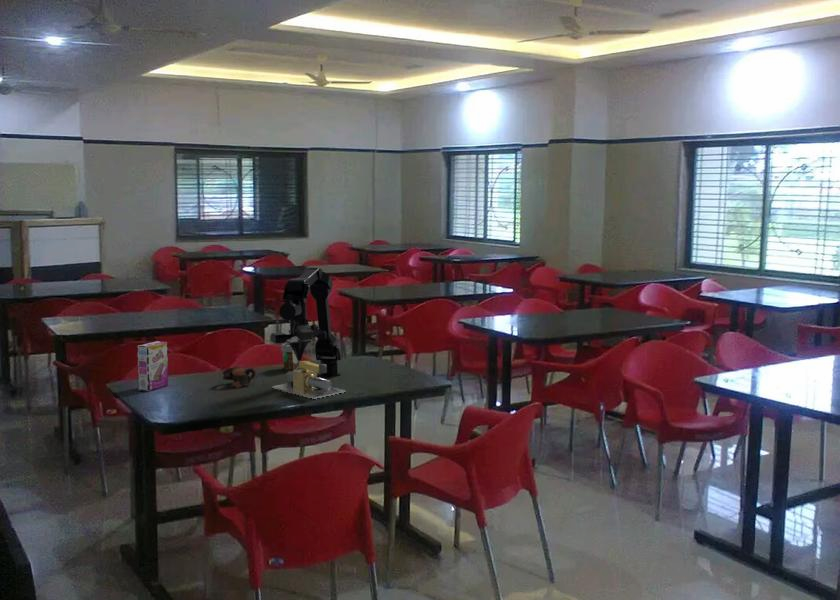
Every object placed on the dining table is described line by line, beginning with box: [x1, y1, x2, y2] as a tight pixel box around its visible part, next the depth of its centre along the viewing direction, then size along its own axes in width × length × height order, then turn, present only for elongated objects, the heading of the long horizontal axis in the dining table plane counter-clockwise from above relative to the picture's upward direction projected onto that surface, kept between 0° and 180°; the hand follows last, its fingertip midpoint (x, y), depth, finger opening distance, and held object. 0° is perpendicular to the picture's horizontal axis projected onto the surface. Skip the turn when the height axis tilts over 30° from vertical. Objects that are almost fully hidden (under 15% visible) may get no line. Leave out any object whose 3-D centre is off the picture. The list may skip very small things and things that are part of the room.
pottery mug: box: [222, 365, 257, 388], centre depth 312 cm, size 12×10×8 cm
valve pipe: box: [272, 368, 346, 400], centre depth 302 cm, size 24×14×8 cm, turn 46°
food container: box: [280, 342, 300, 372], centre depth 339 cm, size 12×6×10 cm, turn 172°
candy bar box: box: [136, 341, 169, 392], centre depth 307 cm, size 11×5×16 cm, turn 159°
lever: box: [299, 360, 327, 374], centre depth 299 cm, size 15×4×3 cm, turn 41°
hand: (299, 360), depth 294 cm, fingers closed
